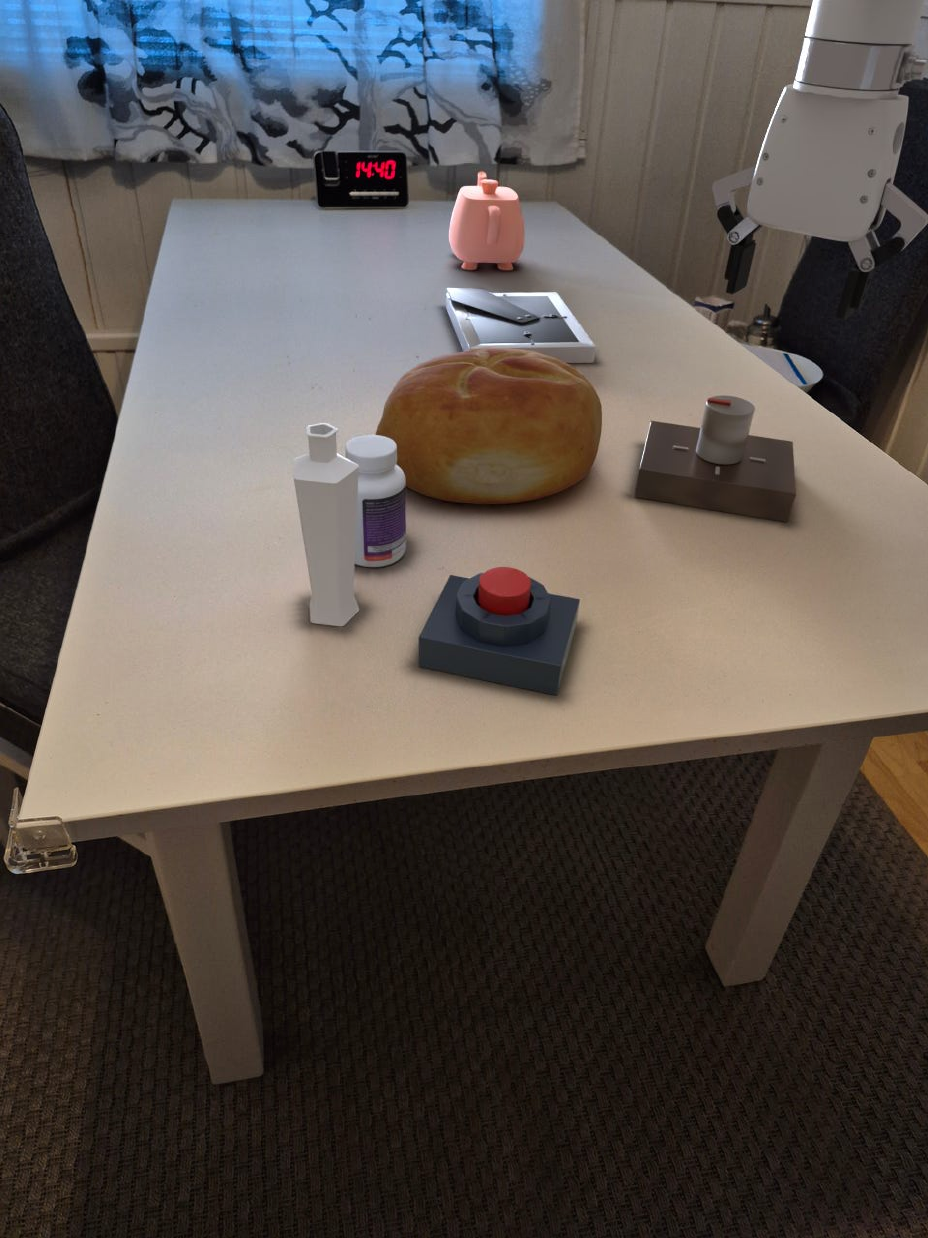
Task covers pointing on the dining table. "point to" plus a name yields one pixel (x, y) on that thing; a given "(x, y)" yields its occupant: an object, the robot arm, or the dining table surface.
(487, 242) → the teapot
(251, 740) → the dining table surface
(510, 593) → the button
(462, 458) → the bread
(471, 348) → the picture frame
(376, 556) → the pill bottle
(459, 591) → the button box
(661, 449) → the dial panel
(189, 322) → the dining table surface
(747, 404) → the knob
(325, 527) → the perfume bottle
